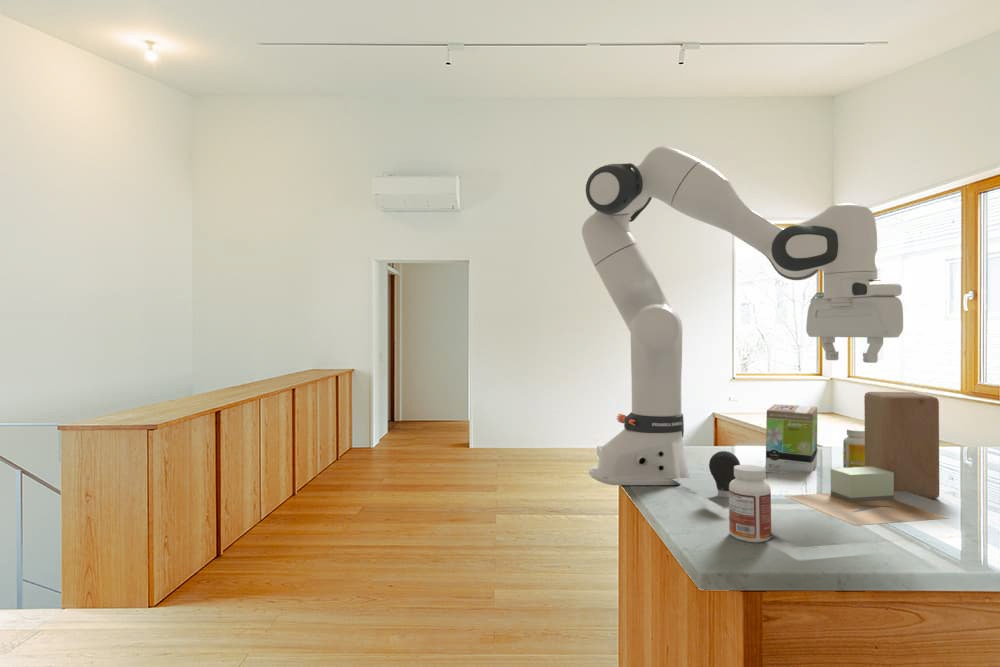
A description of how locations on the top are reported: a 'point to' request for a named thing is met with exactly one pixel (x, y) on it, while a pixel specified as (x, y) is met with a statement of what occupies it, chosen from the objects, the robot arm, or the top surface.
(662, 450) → the robot arm
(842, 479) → the block
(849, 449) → the supplement bottle
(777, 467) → the tea box
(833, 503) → the oak board
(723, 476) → the light bulb
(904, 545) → the top surface
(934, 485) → the wooden block
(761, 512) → the pill bottle
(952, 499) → the top surface
